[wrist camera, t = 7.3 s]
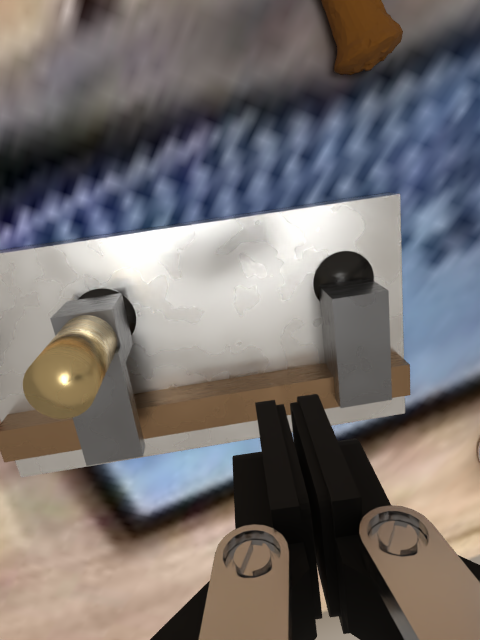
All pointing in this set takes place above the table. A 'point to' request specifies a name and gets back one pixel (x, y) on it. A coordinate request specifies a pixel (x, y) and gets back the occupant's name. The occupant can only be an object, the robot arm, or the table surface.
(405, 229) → the table surface
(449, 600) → the robot arm
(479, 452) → the supplement bottle
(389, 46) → the primitive tool
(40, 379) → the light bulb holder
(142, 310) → the bolt plate
